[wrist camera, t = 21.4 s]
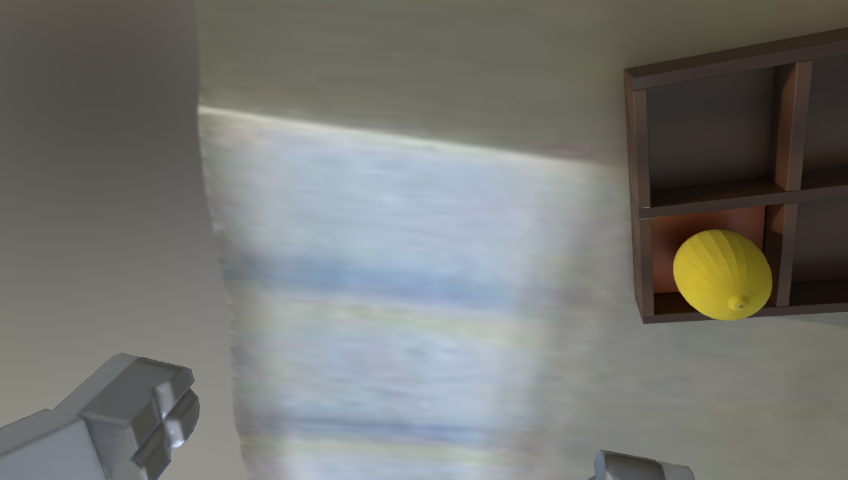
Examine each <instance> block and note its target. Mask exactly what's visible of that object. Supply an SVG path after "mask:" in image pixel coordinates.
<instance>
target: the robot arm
mask: <svg viewBox="0 0 848 480" xmlns="http://www.w3.org/2000/svg"><path fill="white" fill-rule="evenodd" d="M193 383H194V377H193V374H192V370H191V369H189V368H186V367H182V366H178V365H174V364H170V363H165V362H161V361H157V360H152V359H148V358H144V357H138V356H133V355H129V354H125V353H120V354H117V355H114V356H112V357H111V358H110V359H109V360H108V361H106V362H105V363H104V364H103V365H102V366H101V367H100V368H99V369H98V370H96V371H95V372H94V373H93V374H92V375H91V376H90V377H89V378H88V379H86V380H85V381H84V382H83V383H82V384H81V385H80V386H79V387H78V388H76V389H75V390H74V391H73V392H72V393H71V394H70V395H69V396H67V398H65V399H64V400H63V401H62V402H61V403H60V404H59V405H57V406H56V407H55V408H54V409H53V410H49V409H44V410H41V411H39V412H37V413H34V414H32V415H30V416H27V417H25V418H23V419H20V420H18V421H15V422H13V423H10V424H8V425H6V426H3V427H1V428H0V480H157V479H158V478H159V476H160V475H161V474H162V473H163V471H164V470H165V469H166V467H167V466H168V465H169V463H170V462H171V450H173V449H175V448H177V447H178V446H180V445H182V444H184V443H185V442H186V441H187V439H188V438H189V436H190V435H191V434H192V432H193V430H194V428H195V425H196V423H197V420H198V418H199V410H200V404H199V399H198V396H196V394H195V393H194V392H193V391H192V390H191V389H190V386H191V385H192V384H193ZM594 469H595V476H593V477H591V478H589V479H588V480H695V478H694V475H693V472H692V471H691V470H690V468H689V467H687V466H682V465H677V464H672V463H667V462H662V461H656V460H653V459H648V458H643V457H637V456H632V455H627V454H622V453H616V452H611V451H606V450H600V451H599V452H598V453H597V455H596V458H595V461H594Z"/></svg>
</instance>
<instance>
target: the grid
mask: <svg viewBox="0 0 848 480" xmlns="http://www.w3.org/2000/svg"><path fill="white" fill-rule="evenodd" d="M624 84H625V104H626V124H627V144H628V164H629V184H630V203H631V223H632V243H633V263H634V283H635V300H636V303H637V306H638V309H639V312H640V315H641V318H642V321H643V324H654V323H670V322H686V321H703V320H719V319H714V318H711V317H709V316H706V315H704V314H702V313H701V312H699V311H698V310H697V309H695V308H694V307H693V306H691V305H690V304H689V303H688V302H687V301H686V299H685V298H684V297H683V295H682V294H681V292H680V291H679V289H678V287H677V284H676V281H675V278H674V273H673V264H674V259H675V256H676V253H677V251H678V250H679V248H680V246H681V245H682V244H683V243H684V242H685V241H686V240H687V239H688V238H690V237H691V236H693V235H695V234H697V233H700V232H702V231H706V230H713V229H720V230H728V231H732V232H735V233H738V234H740V235H742V236H744V237H745V238H747V239H749V240H750V241H752V242H753V243H754V244H755V245H756V246H757V247H758V248H759V250H760V251H761V252H762V253H763V254H764V256H765V258H766V260H767V262H768V265H769V267H770V269H771V274H772V290H771V294H770V297H769V298H768V300H767V302H766V303H765V305H764V306H763V307H762V308H761V309H760V310H759V311H757V312H756V313H754V314H753V315H751V316H748V317H746V318H752V317H768V316H784V315H801V314H817V313H833V312H848V28H842V29H837V30H832V31H826V32H821V33H815V34H810V35H805V36H799V37H794V38H789V39H783V40H778V41H773V42H767V43H762V44H756V45H751V46H746V47H740V48H735V49H730V50H724V51H719V52H714V53H708V54H703V55H697V56H692V57H687V58H681V59H676V60H671V61H665V62H660V63H655V64H649V65H644V66H638V67H633V68H628V69H624Z"/></svg>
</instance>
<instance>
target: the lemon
mask: <svg viewBox="0 0 848 480" xmlns="http://www.w3.org/2000/svg"><path fill="white" fill-rule="evenodd" d="M673 273H674V278H675V281H676V284H677V287H678V289H679V291H680V292H681V294H682V295H683V297H684V298H685V299H686V301H687V302H688V303H689V304H690V305H691V306H693V307H694V308H695V309H697V310H698V311H699V312H701V313H702V314H704V315H706V316H709V317H711V318H714V319H719V320H724V321H725V320H738V319H743V318H746V317H748V316H751V315H753V314H754V313H756V312H757V311H759V310H760V309H761V308H762V307H763V306H764V305H765V303H766V302H767V300H768V298H769V297H770V294H771V290H772V274H771V269H770V267H769V265H768V262H767V260H766V258H765V256H764V254H763V253H762V252H761V251H760V250H759V248H758V247H757V246H756V245H755V244H754V243H753V242H752V241H750V240H749V239H747V238H745V237H744V236H742V235H740V234H738V233H735V232H732V231H728V230H720V229H713V230H706V231H702V232H700V233H697V234H695V235H693V236H691V237H690V238H688V239H687V240H686V241H685V242H684V243H683V244H682V245H681V246H680V248H679V250H678V251H677V253H676V256H675V259H674V264H673Z"/></svg>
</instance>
